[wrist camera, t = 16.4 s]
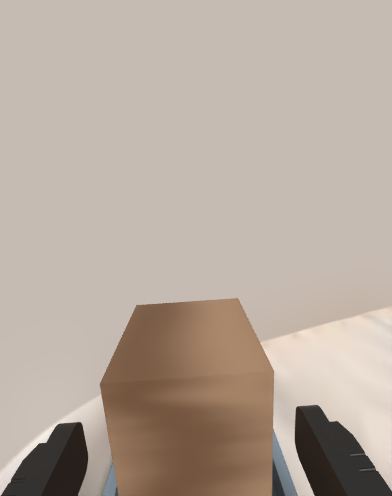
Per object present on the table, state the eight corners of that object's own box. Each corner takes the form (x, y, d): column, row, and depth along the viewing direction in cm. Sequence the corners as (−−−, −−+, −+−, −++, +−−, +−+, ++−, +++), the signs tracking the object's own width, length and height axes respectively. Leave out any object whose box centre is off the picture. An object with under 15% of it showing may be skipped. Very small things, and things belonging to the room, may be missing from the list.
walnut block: (241, 470, 14) (237, 298, 12) (270, 615, 9) (274, 370, 7) (157, 477, 14) (136, 305, 12) (141, 628, 9) (100, 383, 7)
